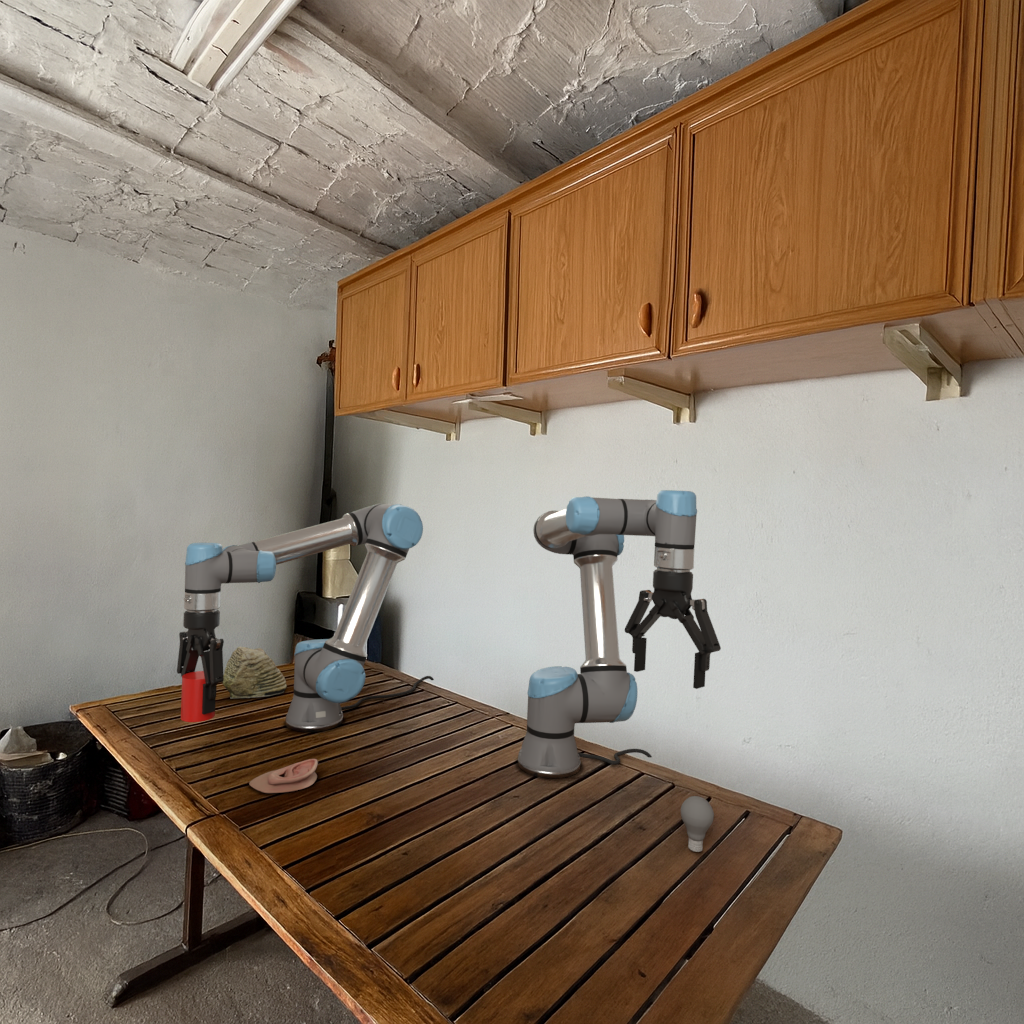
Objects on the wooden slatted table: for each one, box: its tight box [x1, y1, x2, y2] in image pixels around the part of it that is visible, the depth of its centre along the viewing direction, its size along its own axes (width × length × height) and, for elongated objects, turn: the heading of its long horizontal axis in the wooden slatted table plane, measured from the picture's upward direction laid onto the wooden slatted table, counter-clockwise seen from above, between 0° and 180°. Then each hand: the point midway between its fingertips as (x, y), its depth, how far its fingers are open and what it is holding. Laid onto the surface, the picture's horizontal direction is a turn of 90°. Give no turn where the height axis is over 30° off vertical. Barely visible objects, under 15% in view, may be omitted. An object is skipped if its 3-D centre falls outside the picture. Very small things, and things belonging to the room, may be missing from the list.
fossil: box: [222, 646, 288, 699], centre depth 198 cm, size 9×18×15 cm, turn 132°
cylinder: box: [180, 670, 216, 723], centre depth 146 cm, size 7×7×10 cm
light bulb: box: [680, 795, 715, 853], centre depth 119 cm, size 6×6×10 cm
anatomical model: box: [248, 758, 319, 794], centre depth 139 cm, size 13×4×12 cm
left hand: (198, 708), depth 146 cm, fingers closed on cylinder, 7 cm apart
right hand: (668, 678), depth 123 cm, fingers open, 13 cm apart
